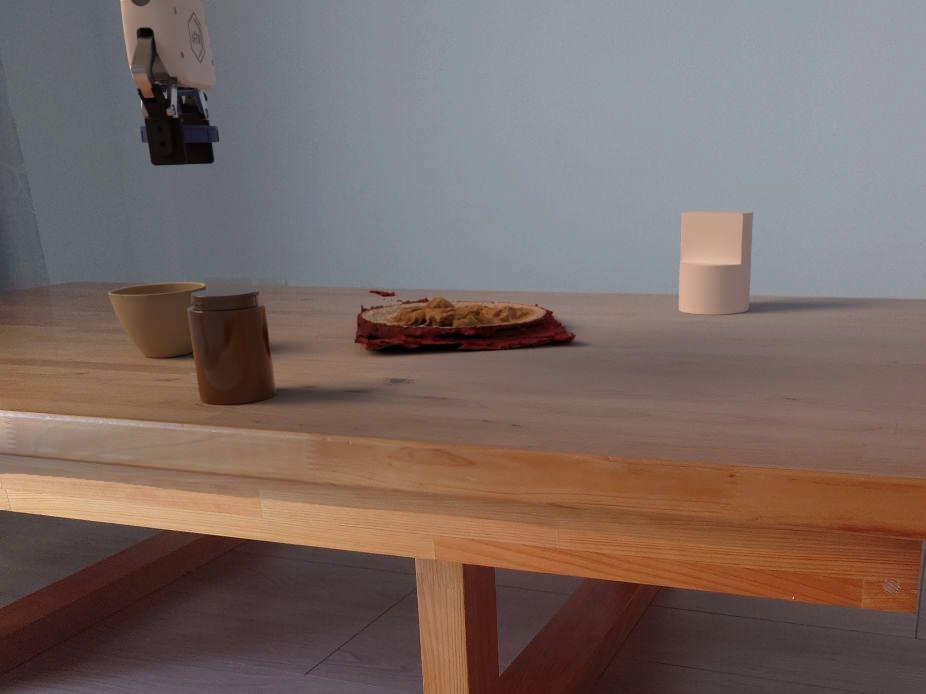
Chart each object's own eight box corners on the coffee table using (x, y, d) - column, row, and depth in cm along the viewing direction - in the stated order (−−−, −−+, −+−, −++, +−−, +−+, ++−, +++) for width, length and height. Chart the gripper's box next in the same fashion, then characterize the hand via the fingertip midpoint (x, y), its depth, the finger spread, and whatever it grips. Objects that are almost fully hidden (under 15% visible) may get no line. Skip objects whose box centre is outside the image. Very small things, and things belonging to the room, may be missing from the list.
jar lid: (232, 142, 98) (230, 126, 97) (196, 141, 91) (194, 124, 91) (166, 143, 99) (164, 127, 99) (127, 142, 93) (124, 126, 92)
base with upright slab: (666, 311, 130) (668, 214, 125) (697, 302, 137) (700, 209, 132) (730, 316, 125) (734, 215, 120) (760, 306, 132) (764, 210, 127)
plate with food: (355, 359, 107) (352, 326, 105) (362, 316, 130) (360, 289, 129) (576, 351, 109) (577, 319, 108) (544, 310, 133) (544, 284, 132)
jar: (219, 408, 86) (203, 299, 83) (188, 396, 91) (172, 293, 88) (289, 395, 90) (276, 290, 87) (255, 384, 95) (242, 285, 92)
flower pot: (152, 345, 117) (142, 282, 115) (231, 345, 115) (222, 281, 113) (100, 362, 108) (88, 294, 106) (185, 363, 106) (174, 293, 103)
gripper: (159, -71, 81) (192, 164, 88) (225, -34, 98) (249, 162, 104) (67, -67, 82) (107, 167, 88) (149, -31, 98) (177, 164, 104)
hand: (184, 162), depth 96 cm, fingers closed on jar lid, 7 cm apart
